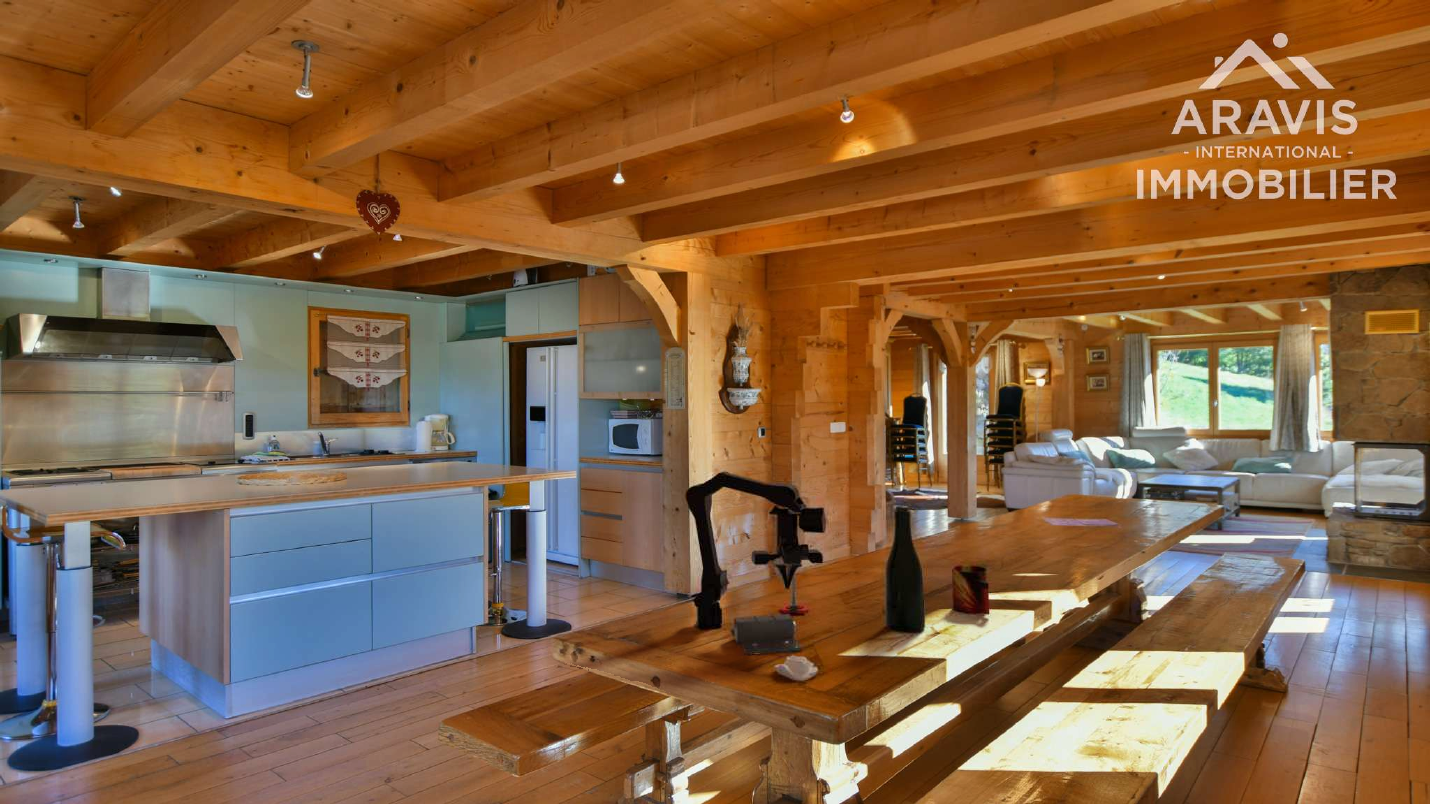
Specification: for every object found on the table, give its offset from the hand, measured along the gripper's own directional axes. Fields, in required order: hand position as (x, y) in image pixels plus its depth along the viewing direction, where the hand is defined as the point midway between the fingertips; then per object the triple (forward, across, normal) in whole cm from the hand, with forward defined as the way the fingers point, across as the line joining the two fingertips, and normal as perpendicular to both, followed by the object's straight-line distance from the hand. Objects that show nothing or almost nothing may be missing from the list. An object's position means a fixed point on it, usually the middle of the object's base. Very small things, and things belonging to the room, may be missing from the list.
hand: (786, 588), depth 216 cm
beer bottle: (+11, +32, -4) cm, 34 cm away
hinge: (+12, -7, -7) cm, 15 cm away
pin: (+12, -7, -7) cm, 15 cm away
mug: (+10, +58, +8) cm, 59 cm away
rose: (+12, -5, -34) cm, 36 cm away
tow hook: (+12, +6, +20) cm, 24 cm away
